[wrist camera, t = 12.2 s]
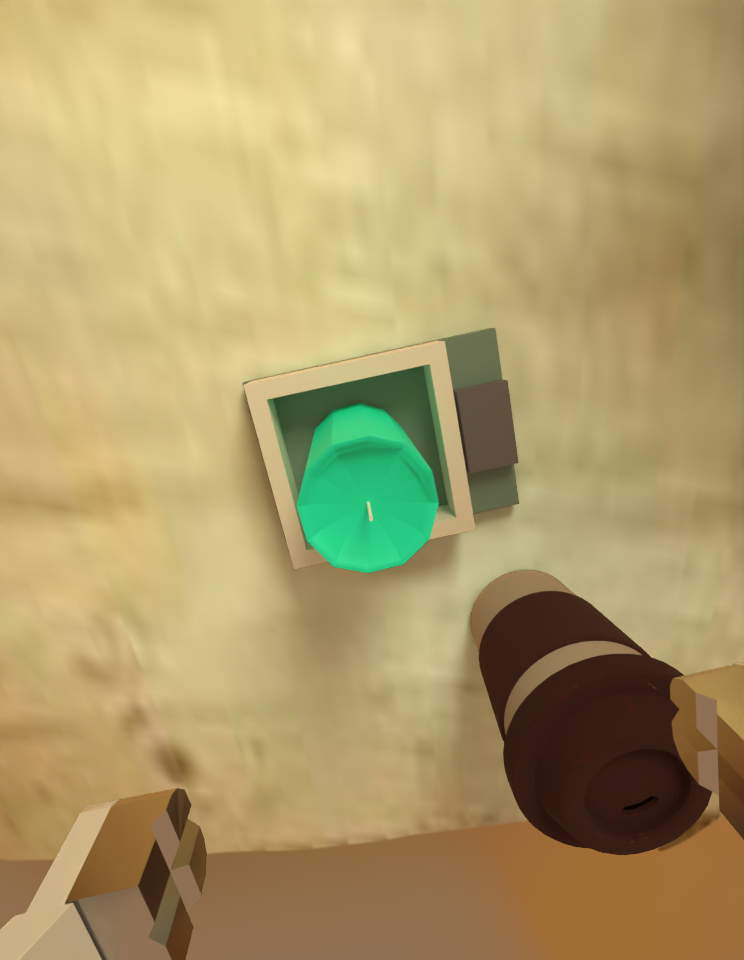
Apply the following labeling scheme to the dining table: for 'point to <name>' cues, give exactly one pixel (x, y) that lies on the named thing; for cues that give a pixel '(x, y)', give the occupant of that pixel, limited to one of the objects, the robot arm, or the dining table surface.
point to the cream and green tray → (415, 407)
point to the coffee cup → (582, 719)
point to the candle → (366, 491)
